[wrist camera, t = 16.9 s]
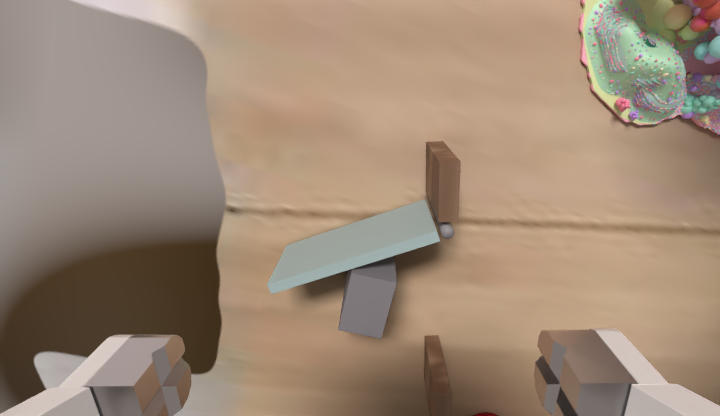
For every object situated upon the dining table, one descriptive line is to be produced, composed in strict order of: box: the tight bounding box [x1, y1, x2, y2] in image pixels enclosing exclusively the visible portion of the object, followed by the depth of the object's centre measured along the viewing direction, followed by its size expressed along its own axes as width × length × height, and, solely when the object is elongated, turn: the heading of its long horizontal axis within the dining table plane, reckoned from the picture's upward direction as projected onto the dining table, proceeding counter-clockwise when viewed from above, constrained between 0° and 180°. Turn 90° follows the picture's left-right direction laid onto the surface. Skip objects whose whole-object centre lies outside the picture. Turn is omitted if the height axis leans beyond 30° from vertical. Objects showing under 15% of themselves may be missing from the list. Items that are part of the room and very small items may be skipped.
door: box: [267, 199, 454, 294], centre depth 37 cm, size 1×17×8 cm, turn 110°
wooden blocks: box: [424, 141, 461, 416], centre depth 39 cm, size 2×29×9 cm, turn 3°
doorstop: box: [338, 256, 397, 339], centre depth 39 cm, size 4×6×9 cm, turn 168°
